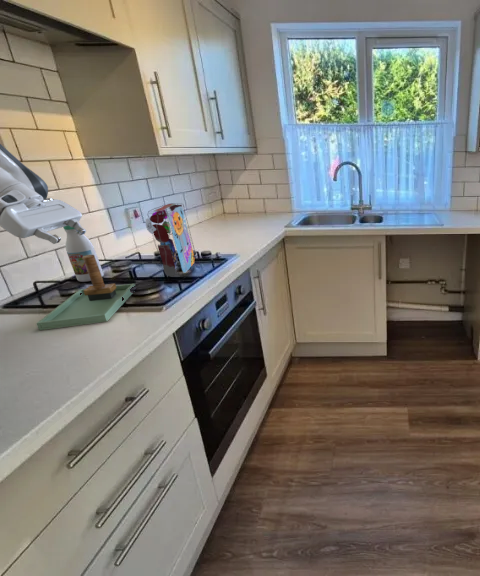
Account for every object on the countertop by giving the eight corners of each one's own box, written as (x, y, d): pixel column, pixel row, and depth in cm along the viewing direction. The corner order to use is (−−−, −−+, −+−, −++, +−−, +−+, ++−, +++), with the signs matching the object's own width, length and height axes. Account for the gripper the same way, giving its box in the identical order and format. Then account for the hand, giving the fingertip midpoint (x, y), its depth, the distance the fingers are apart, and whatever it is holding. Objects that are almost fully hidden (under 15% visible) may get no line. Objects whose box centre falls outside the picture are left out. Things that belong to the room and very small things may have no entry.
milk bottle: (85, 275, 133) (65, 221, 125) (108, 273, 134) (90, 220, 126) (72, 283, 126) (50, 226, 118) (97, 281, 127) (77, 225, 119)
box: (174, 290, 118) (154, 216, 108) (154, 292, 117) (132, 217, 107) (198, 265, 140) (183, 202, 131) (182, 266, 140) (165, 203, 130)
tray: (39, 330, 95) (35, 323, 94) (81, 295, 116) (79, 289, 115) (107, 321, 99) (104, 314, 98) (136, 289, 120) (134, 283, 119)
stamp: (87, 301, 110) (71, 259, 104) (93, 296, 113) (78, 255, 108) (113, 298, 111) (98, 256, 106) (118, 293, 115) (104, 252, 110)
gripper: (48, 205, 109) (92, 236, 113) (-20, 219, 90) (35, 255, 94) (58, 189, 107) (102, 221, 111) (-9, 200, 89) (46, 238, 92)
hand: (71, 237), depth 103 cm, fingers open, 8 cm apart
